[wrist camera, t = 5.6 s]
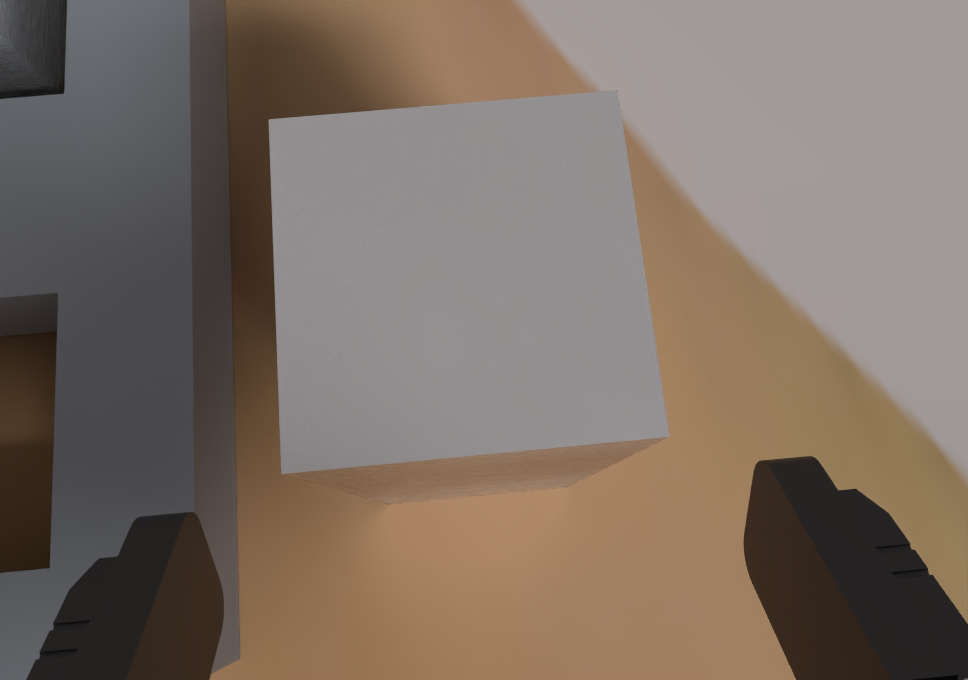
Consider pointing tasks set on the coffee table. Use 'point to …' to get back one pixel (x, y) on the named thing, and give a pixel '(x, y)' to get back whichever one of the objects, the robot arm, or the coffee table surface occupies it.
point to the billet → (460, 298)
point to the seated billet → (32, 47)
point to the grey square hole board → (125, 293)
